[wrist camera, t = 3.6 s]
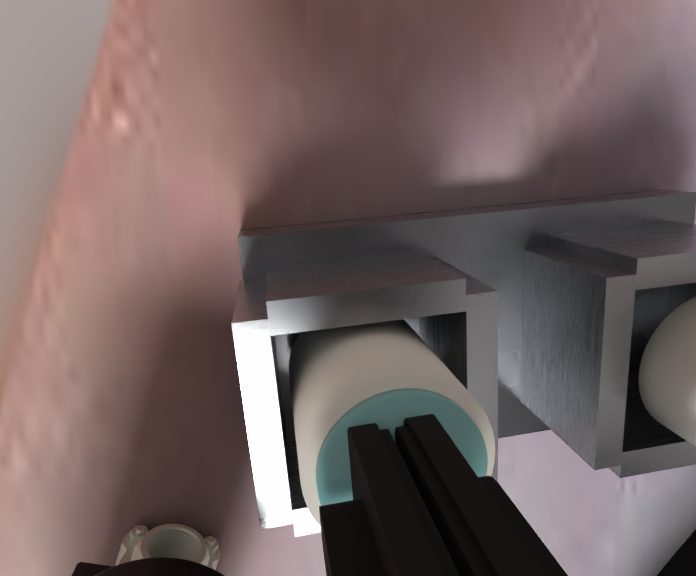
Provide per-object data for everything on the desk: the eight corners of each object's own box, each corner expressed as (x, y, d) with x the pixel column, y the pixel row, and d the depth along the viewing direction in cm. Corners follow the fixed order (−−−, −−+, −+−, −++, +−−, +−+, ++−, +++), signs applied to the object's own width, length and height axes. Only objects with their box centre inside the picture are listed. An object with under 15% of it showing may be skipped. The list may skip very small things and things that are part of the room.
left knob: (418, 294, 14) (502, 366, 9) (423, 416, 15) (501, 542, 10) (281, 310, 14) (291, 396, 9) (295, 436, 15) (311, 579, 10)
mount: (664, 189, 18) (832, 201, 12) (646, 391, 20) (783, 473, 15) (236, 230, 16) (222, 265, 10) (266, 450, 18) (267, 572, 12)
